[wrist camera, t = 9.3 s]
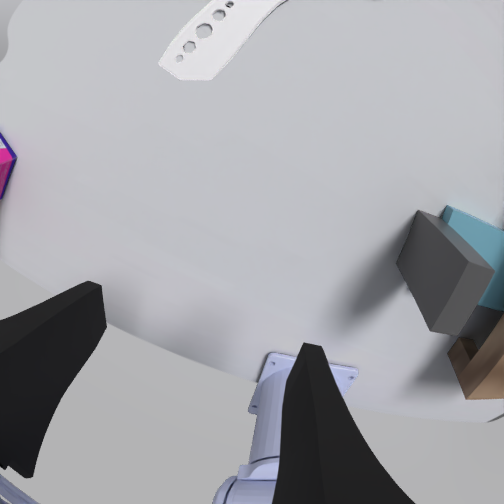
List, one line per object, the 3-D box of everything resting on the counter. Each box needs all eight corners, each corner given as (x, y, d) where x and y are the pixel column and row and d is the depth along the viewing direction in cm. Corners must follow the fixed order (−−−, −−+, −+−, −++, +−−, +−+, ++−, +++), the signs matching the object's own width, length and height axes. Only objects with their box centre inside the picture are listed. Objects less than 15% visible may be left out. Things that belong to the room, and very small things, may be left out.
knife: (109, 151, 17) (75, 58, 14) (122, 146, 19) (89, 59, 16) (528, 42, 8) (483, -53, 5) (516, 44, 10) (473, -46, 7)
